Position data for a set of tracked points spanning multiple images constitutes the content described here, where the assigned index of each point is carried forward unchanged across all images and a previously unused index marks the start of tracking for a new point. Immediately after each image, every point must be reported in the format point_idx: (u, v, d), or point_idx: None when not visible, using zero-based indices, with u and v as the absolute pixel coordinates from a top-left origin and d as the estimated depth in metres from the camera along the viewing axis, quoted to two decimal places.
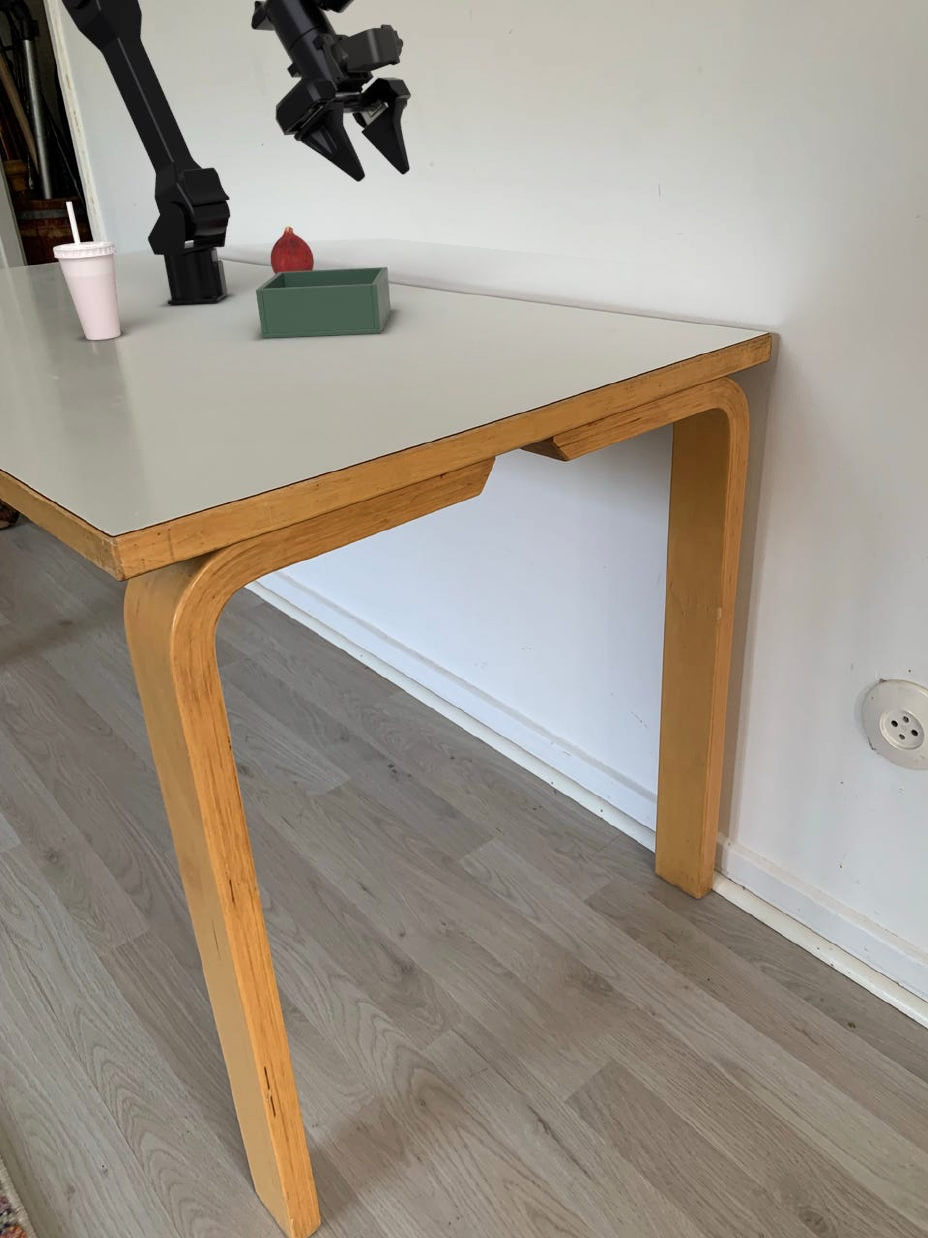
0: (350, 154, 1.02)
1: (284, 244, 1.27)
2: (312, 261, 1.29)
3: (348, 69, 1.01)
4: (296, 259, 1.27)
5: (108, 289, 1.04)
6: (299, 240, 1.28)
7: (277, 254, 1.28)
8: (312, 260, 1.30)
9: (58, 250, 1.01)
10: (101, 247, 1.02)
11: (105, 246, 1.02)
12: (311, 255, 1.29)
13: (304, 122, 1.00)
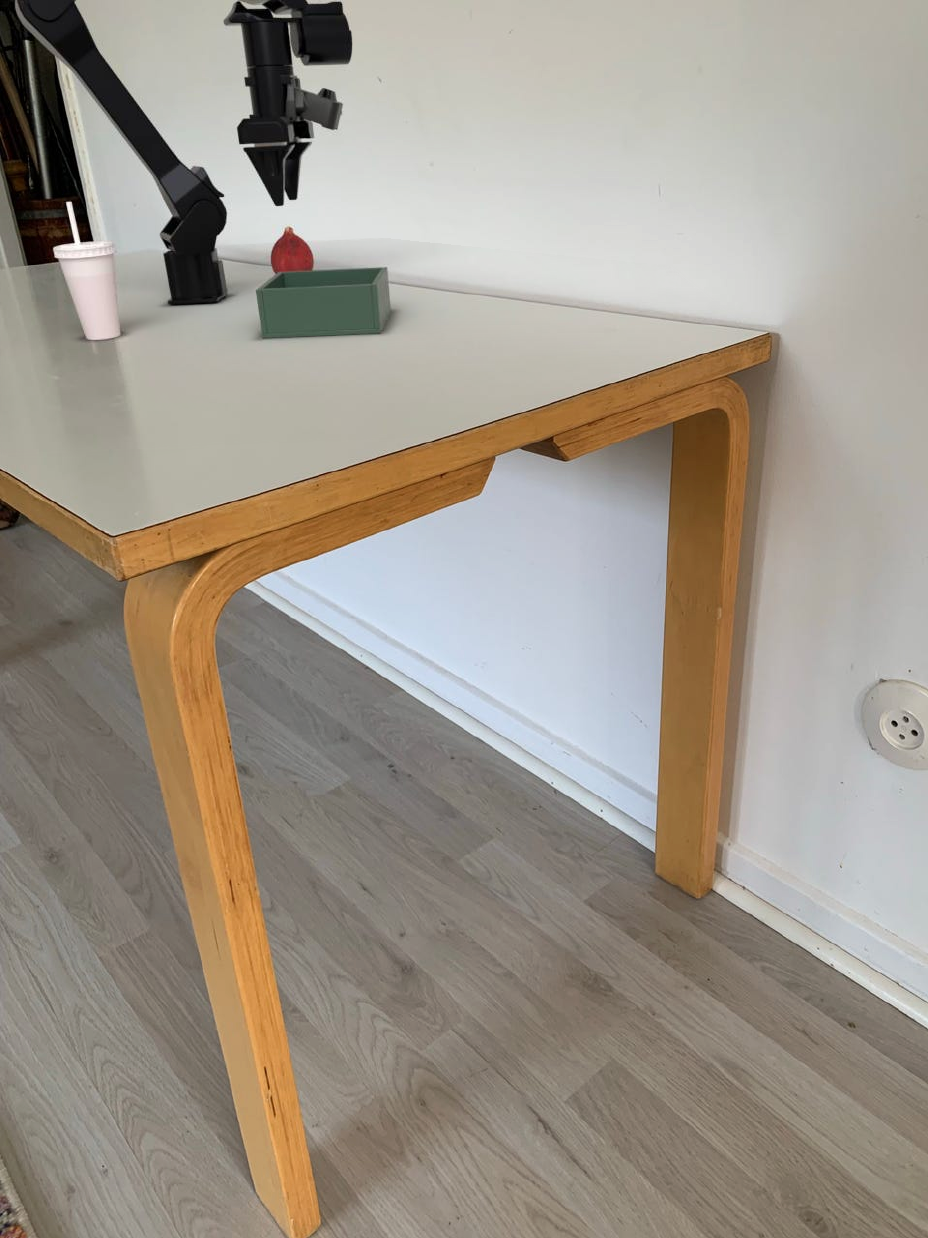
0: (281, 185, 1.20)
1: (284, 244, 1.27)
2: (312, 261, 1.29)
3: (302, 116, 1.20)
4: (296, 259, 1.27)
5: (108, 289, 1.04)
6: (299, 240, 1.28)
7: (277, 254, 1.28)
8: (312, 260, 1.30)
9: (58, 250, 1.01)
10: (101, 247, 1.02)
11: (105, 246, 1.02)
12: (311, 255, 1.29)
13: (260, 145, 1.16)
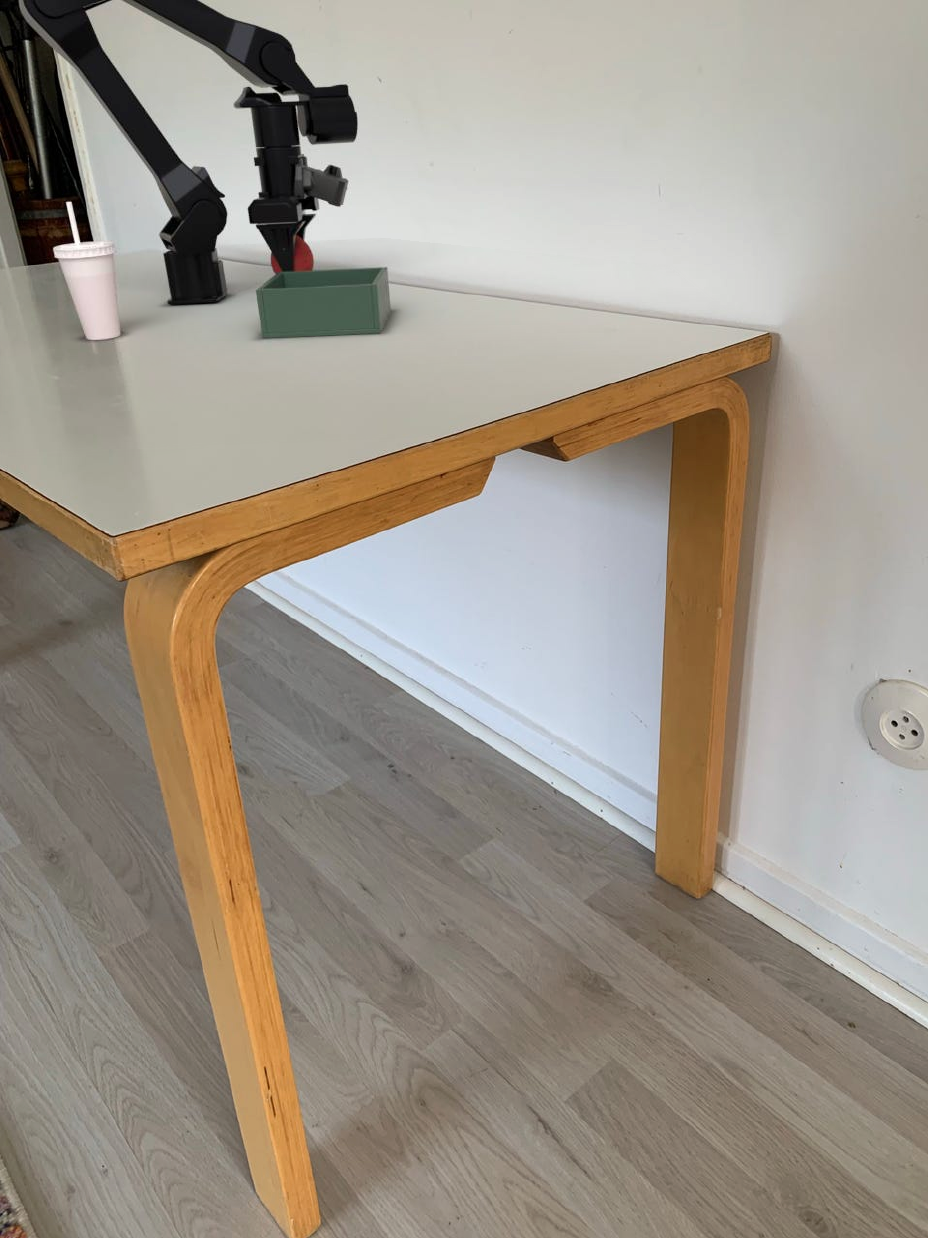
0: (292, 258, 1.26)
1: None
2: (312, 261, 1.29)
3: (309, 194, 1.24)
4: (296, 259, 1.27)
5: (108, 289, 1.04)
6: (299, 240, 1.28)
7: None
8: (312, 260, 1.30)
9: (58, 250, 1.01)
10: (101, 247, 1.02)
11: (105, 246, 1.02)
12: (311, 255, 1.29)
13: (272, 222, 1.22)
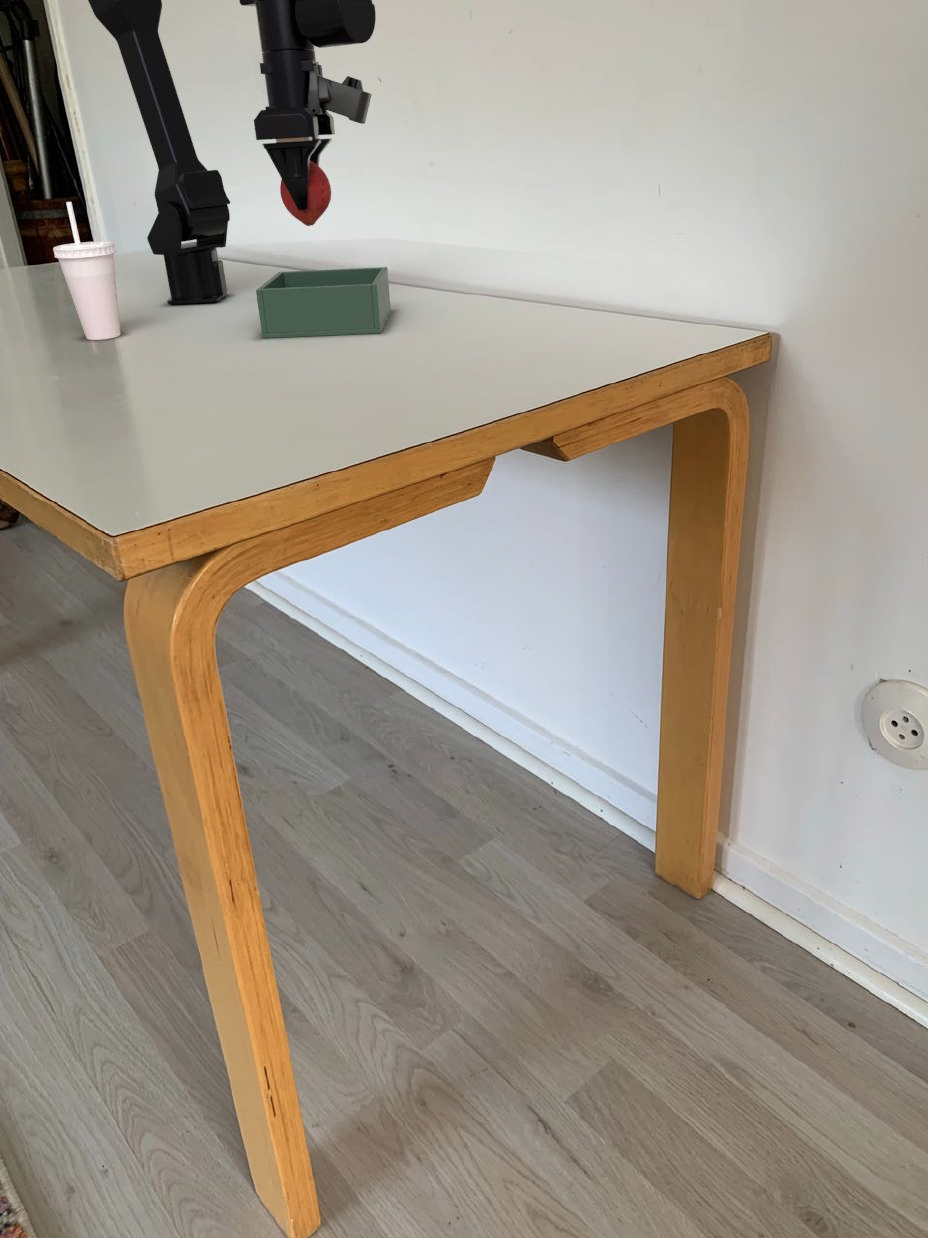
0: (306, 186, 1.06)
1: None
2: (329, 192, 1.10)
3: (326, 108, 1.04)
4: (311, 188, 1.08)
5: (108, 289, 1.04)
6: (314, 166, 1.08)
7: None
8: (329, 190, 1.10)
9: (58, 250, 1.01)
10: (101, 247, 1.02)
11: (105, 246, 1.02)
12: (328, 184, 1.09)
13: (283, 140, 1.02)
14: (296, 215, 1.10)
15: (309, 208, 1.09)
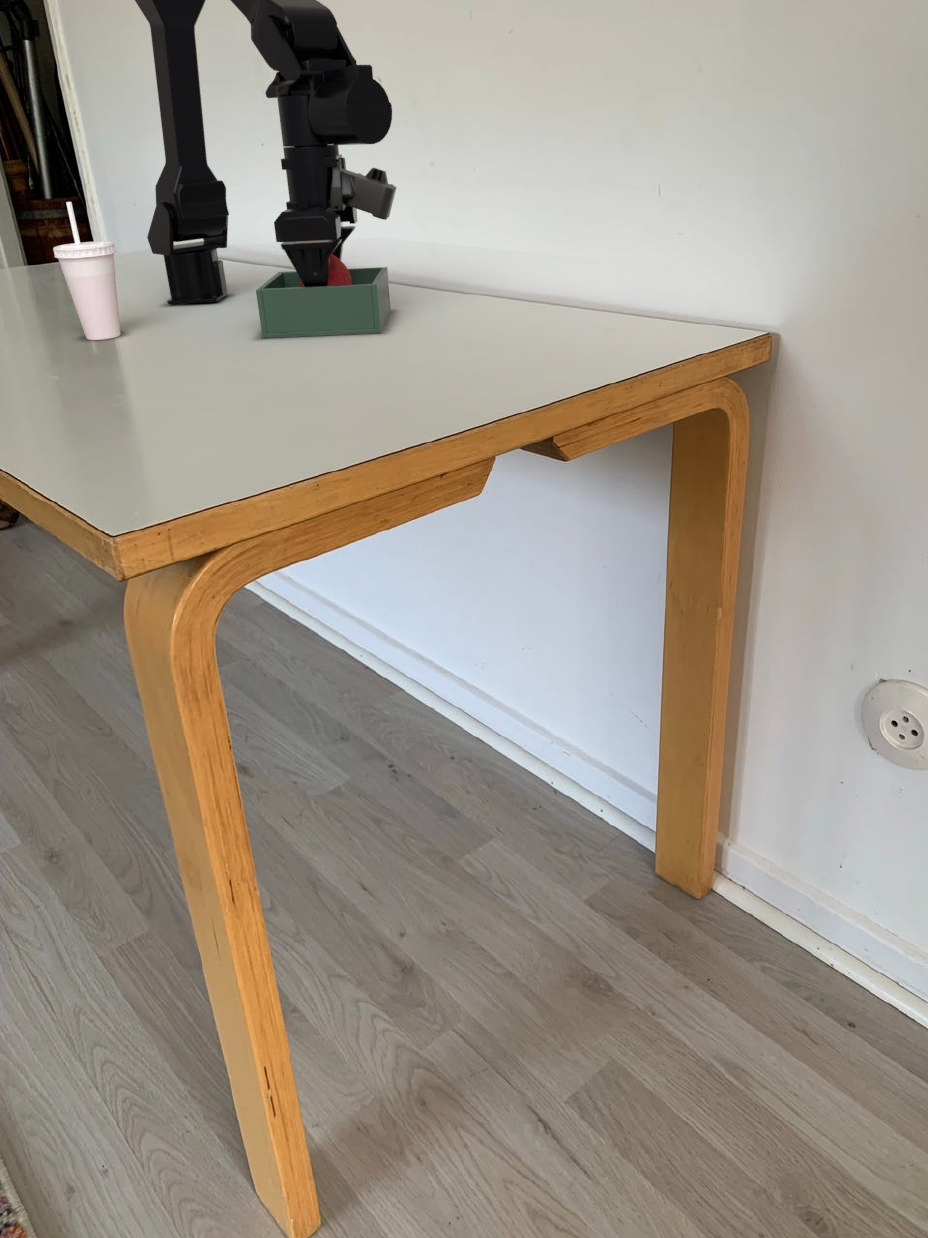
0: (325, 285, 1.01)
1: None
2: None
3: (349, 205, 1.00)
4: (331, 284, 1.04)
5: (108, 289, 1.04)
6: (335, 260, 1.04)
7: None
8: None
9: (58, 250, 1.01)
10: (101, 247, 1.02)
11: (105, 246, 1.02)
12: (349, 278, 1.05)
13: (302, 241, 0.97)
14: None
15: None
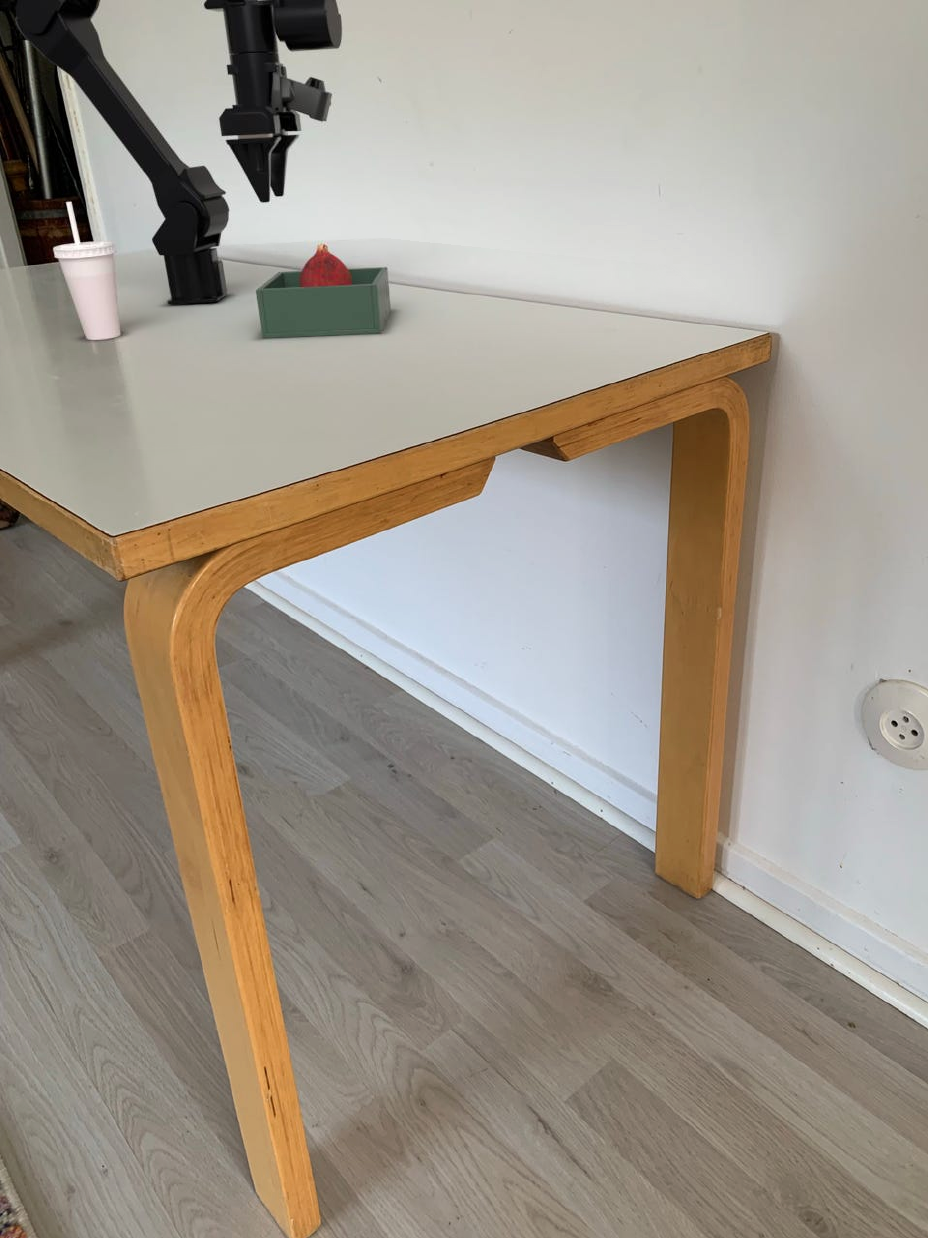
0: (267, 180, 1.13)
1: (316, 266, 1.03)
2: None
3: (288, 107, 1.12)
4: (331, 284, 1.04)
5: (108, 289, 1.04)
6: (335, 260, 1.04)
7: (308, 277, 1.04)
8: None
9: (58, 250, 1.01)
10: (101, 247, 1.02)
11: (105, 246, 1.02)
12: (349, 278, 1.05)
13: (244, 137, 1.09)
14: None
15: None
